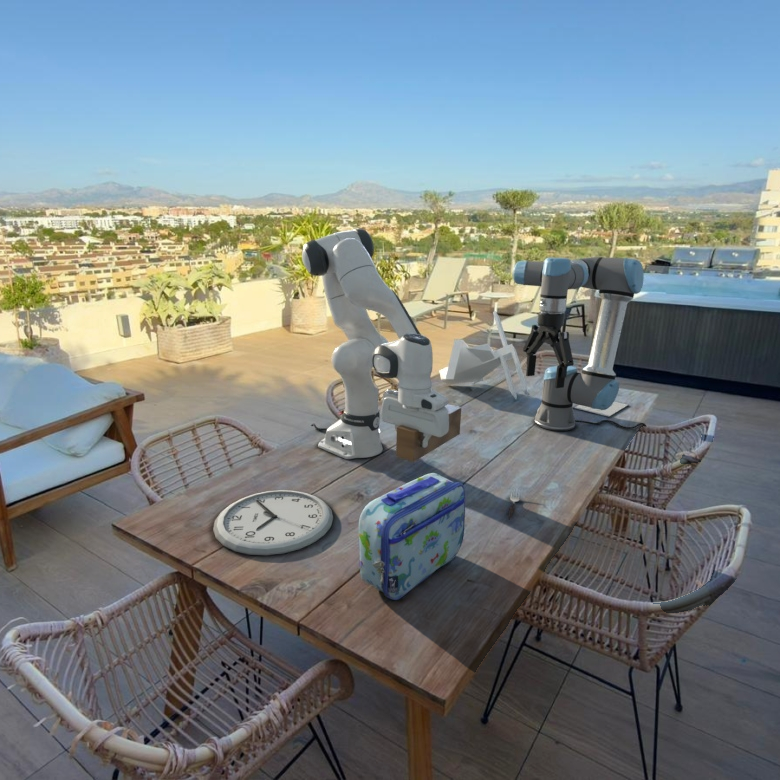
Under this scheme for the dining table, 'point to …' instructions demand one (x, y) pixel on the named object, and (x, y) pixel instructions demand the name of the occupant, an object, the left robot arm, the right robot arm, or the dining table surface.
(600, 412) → the invitation card
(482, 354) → the white plastic object
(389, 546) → the lunch box
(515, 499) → the fork
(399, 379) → the left robot arm
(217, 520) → the wall clock
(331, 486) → the dining table surface
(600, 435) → the dining table surface
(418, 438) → the bar
